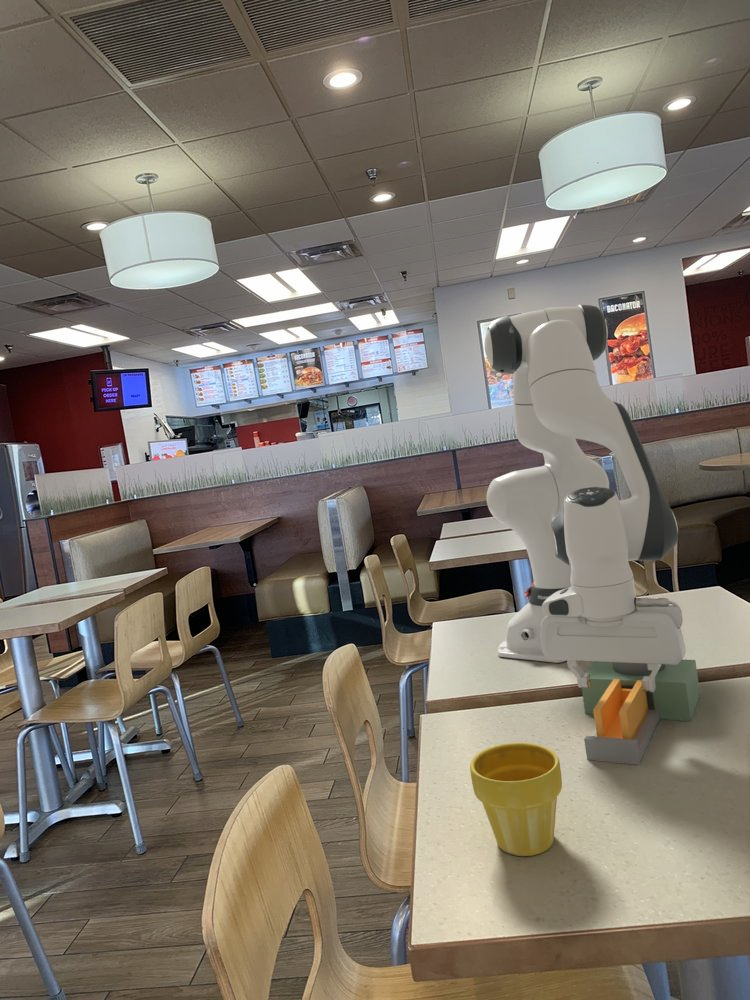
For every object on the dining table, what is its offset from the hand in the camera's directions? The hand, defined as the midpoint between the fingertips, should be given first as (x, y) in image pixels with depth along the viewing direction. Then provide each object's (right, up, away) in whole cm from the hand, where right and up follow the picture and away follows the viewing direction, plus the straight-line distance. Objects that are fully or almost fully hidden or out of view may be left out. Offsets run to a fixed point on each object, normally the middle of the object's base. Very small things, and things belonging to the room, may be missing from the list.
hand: (616, 688), depth 104 cm
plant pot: (-18, -12, -21) cm, 31 cm away
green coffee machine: (+4, -6, +4) cm, 8 cm away
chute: (+1, -6, 0) cm, 6 cm away
